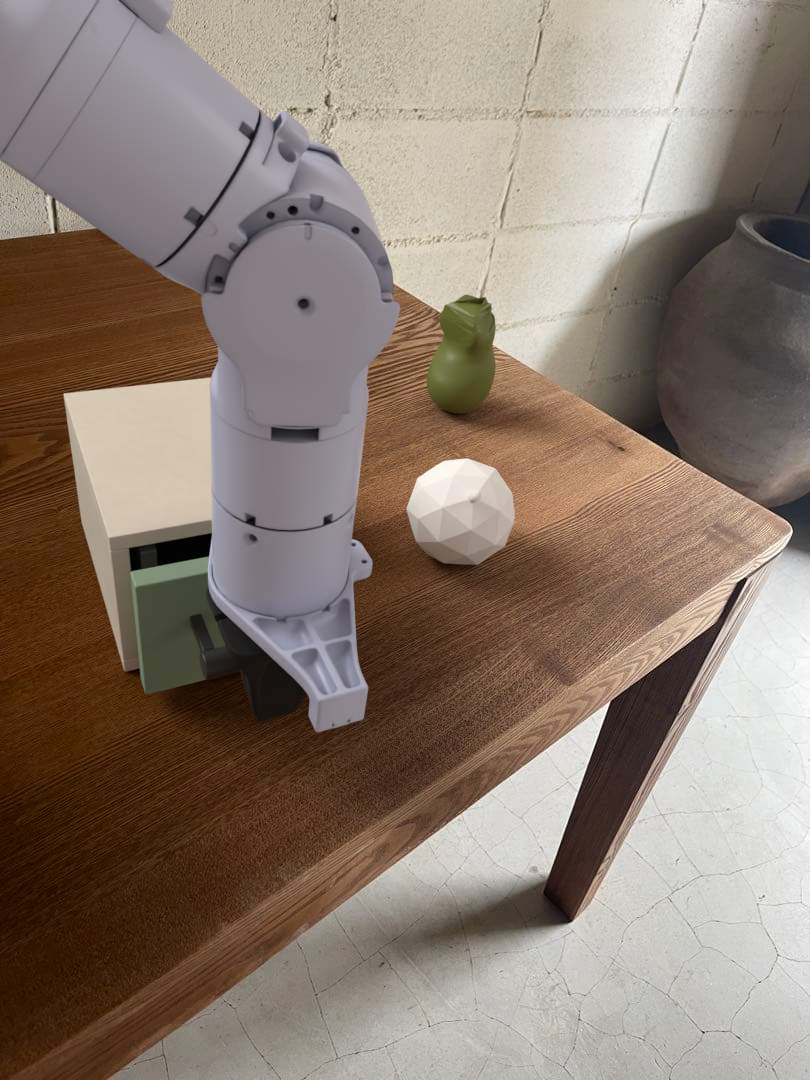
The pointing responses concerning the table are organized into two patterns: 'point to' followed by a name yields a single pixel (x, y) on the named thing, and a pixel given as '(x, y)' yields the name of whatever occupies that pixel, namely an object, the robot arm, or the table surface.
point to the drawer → (176, 615)
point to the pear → (463, 356)
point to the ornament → (461, 512)
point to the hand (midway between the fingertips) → (274, 706)
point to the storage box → (139, 480)
